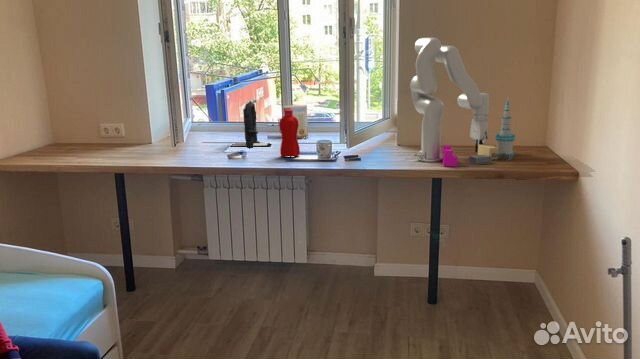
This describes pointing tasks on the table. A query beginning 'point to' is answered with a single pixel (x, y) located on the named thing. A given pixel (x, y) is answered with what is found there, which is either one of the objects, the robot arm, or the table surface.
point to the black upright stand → (250, 128)
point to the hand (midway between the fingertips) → (478, 152)
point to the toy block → (449, 156)
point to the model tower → (505, 134)
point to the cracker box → (299, 118)
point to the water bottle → (289, 134)
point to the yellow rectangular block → (488, 150)
